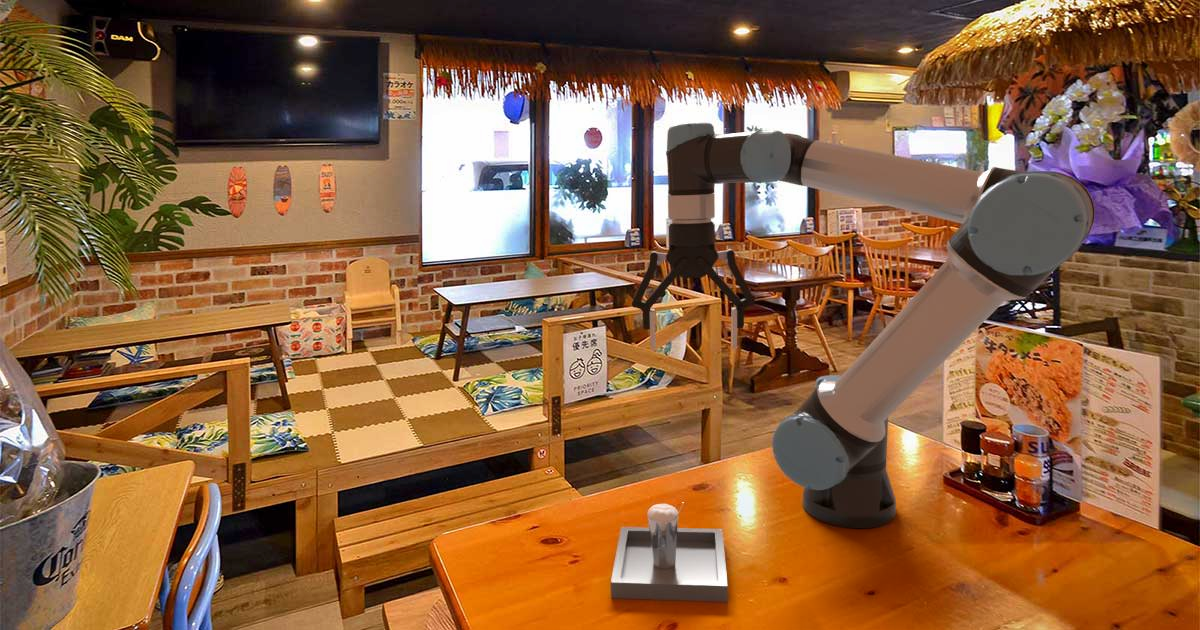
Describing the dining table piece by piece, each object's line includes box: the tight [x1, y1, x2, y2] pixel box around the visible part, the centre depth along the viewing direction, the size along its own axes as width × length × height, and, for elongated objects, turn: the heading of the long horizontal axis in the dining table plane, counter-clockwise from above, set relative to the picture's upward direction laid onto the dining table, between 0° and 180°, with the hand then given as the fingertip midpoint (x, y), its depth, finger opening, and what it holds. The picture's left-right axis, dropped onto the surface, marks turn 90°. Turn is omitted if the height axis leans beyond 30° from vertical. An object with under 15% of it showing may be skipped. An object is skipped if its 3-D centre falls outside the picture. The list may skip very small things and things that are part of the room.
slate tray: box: [610, 526, 729, 603], centre depth 106 cm, size 16×16×2 cm
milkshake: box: [647, 501, 684, 569], centre depth 105 cm, size 4×5×10 cm
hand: (693, 347), depth 121 cm, fingers open, 13 cm apart
